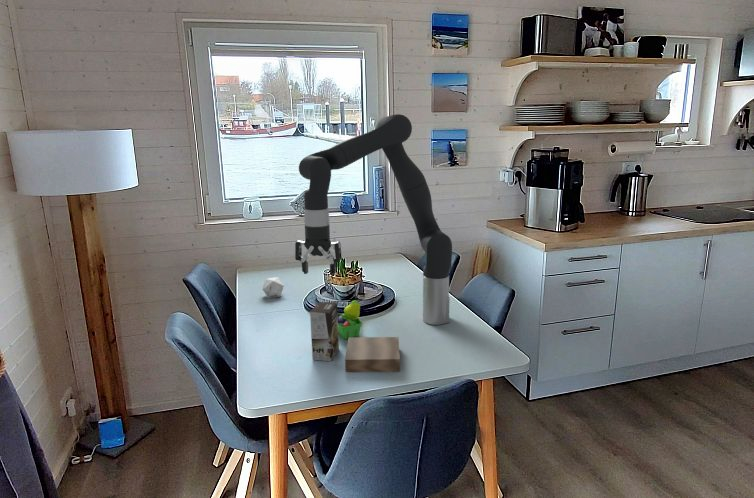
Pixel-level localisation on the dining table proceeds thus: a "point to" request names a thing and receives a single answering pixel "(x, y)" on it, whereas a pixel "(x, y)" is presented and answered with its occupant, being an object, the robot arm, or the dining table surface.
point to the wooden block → (372, 354)
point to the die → (273, 287)
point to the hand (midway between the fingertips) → (319, 273)
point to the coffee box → (324, 331)
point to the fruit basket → (350, 321)
